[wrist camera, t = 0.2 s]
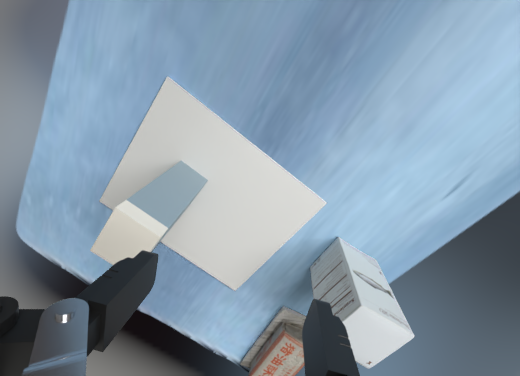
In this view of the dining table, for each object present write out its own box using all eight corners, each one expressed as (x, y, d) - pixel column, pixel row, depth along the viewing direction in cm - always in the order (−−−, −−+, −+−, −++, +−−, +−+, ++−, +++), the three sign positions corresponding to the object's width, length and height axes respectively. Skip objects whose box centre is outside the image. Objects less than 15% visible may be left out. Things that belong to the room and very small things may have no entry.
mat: (168, 76, 30) (167, 76, 29) (326, 202, 34) (326, 203, 34) (101, 200, 38) (99, 201, 37) (235, 289, 42) (235, 290, 42)
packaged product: (283, 404, 46) (236, 384, 45) (283, 376, 51) (240, 358, 50) (337, 352, 39) (282, 328, 38) (332, 325, 44) (282, 302, 43)
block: (181, 160, 33) (115, 207, 21) (208, 180, 34) (160, 237, 21) (160, 191, 36) (89, 250, 23) (186, 209, 36) (131, 276, 24)
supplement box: (377, 258, 37) (418, 338, 25) (344, 288, 40) (368, 372, 28) (338, 234, 36) (362, 305, 24) (307, 266, 39) (316, 343, 27)
